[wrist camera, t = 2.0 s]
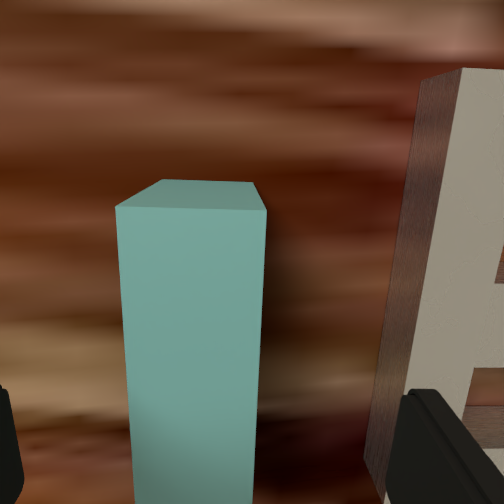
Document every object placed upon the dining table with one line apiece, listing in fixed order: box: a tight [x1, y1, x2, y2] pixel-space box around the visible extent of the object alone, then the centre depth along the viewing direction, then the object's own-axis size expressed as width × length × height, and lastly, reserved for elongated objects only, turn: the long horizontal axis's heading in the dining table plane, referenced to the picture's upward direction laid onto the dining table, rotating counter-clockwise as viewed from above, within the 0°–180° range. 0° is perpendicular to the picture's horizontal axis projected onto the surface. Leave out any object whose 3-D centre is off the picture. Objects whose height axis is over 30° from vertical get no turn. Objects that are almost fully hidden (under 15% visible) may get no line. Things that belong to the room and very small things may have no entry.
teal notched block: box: [115, 179, 267, 504], centre depth 15 cm, size 11×4×7 cm, turn 178°
